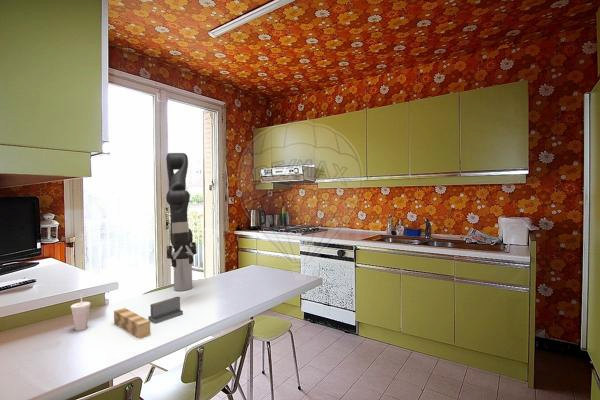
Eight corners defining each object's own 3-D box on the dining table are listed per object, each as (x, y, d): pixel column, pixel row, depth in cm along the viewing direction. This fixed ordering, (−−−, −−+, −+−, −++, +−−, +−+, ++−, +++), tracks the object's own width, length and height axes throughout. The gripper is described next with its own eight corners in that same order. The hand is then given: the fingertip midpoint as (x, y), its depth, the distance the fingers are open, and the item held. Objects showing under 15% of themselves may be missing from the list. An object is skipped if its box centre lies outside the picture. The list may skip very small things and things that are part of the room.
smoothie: (78, 333, 116) (77, 297, 115) (67, 331, 118) (66, 295, 118) (95, 326, 122) (94, 291, 121) (83, 324, 124) (82, 290, 124)
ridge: (148, 320, 127) (148, 303, 127) (175, 311, 137) (175, 295, 137) (155, 323, 124) (155, 306, 124) (182, 314, 133) (182, 298, 133)
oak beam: (114, 324, 124) (113, 310, 124) (124, 320, 128) (124, 307, 128) (139, 339, 111) (139, 324, 111) (150, 335, 114) (150, 321, 114)
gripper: (189, 230, 155) (191, 262, 154) (162, 233, 144) (164, 268, 143) (198, 230, 150) (200, 263, 150) (170, 233, 139) (173, 268, 138)
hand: (182, 265), depth 146 cm, fingers open, 8 cm apart
